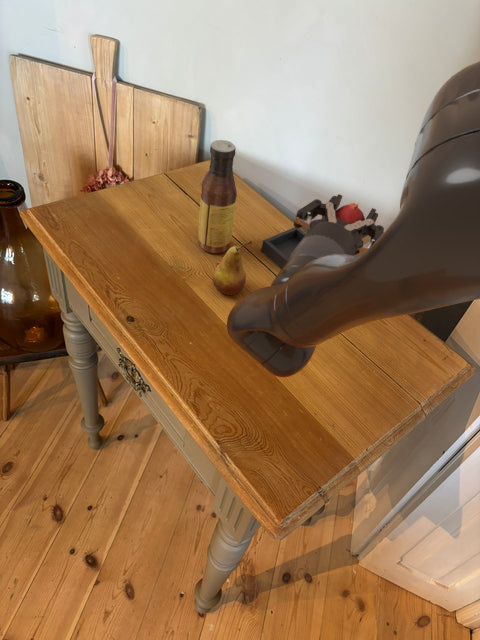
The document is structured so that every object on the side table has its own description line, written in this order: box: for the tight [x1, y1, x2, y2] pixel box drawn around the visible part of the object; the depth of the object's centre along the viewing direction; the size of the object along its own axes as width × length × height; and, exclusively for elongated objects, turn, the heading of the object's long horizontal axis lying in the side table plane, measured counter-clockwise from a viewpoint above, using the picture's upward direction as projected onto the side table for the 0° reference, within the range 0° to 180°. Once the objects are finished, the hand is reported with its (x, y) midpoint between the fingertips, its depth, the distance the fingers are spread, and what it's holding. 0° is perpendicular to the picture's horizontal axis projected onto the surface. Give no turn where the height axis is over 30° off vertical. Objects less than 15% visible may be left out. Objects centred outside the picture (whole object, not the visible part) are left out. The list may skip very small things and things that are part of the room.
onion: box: [335, 201, 366, 224], centre depth 75 cm, size 6×6×8 cm
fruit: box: [212, 240, 253, 296], centre depth 76 cm, size 6×6×12 cm
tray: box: [260, 226, 307, 270], centre depth 86 cm, size 9×17×3 cm, turn 40°
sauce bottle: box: [197, 139, 238, 255], centre depth 80 cm, size 6×6×20 cm
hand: (355, 206), depth 75 cm, fingers closed on onion, 5 cm apart
